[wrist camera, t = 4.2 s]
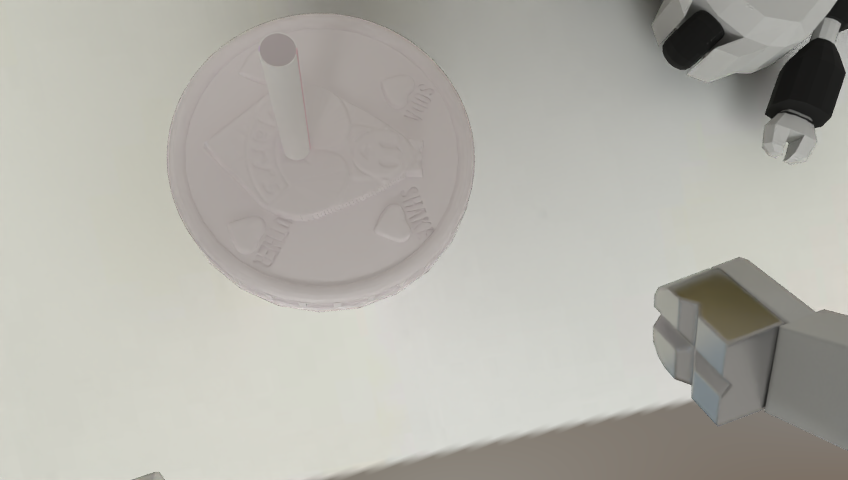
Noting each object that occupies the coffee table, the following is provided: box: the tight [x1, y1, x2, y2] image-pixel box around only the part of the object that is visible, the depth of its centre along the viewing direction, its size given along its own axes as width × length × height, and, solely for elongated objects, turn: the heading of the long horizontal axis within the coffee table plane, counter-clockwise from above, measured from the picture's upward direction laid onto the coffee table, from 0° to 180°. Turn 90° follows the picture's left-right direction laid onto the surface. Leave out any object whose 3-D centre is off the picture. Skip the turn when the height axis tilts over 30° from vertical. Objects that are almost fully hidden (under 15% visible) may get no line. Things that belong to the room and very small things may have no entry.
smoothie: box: [167, 13, 475, 312], centre depth 17 cm, size 6×6×14 cm
